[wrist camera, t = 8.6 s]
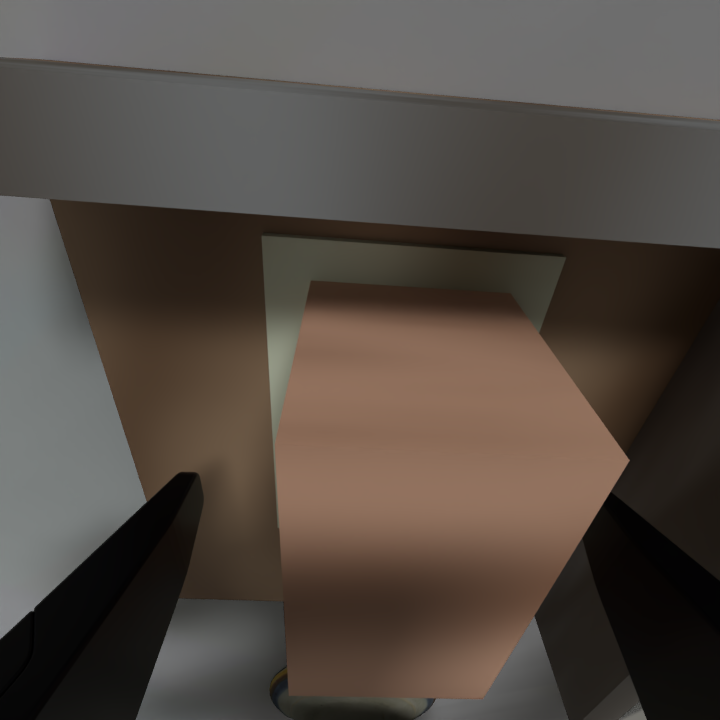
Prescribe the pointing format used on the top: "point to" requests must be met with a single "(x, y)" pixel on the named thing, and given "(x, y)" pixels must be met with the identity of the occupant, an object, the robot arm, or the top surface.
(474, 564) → the block
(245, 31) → the top surface
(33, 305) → the top surface
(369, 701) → the apothecary jar
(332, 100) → the brown rimmed piece
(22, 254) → the top surface
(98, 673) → the robot arm
